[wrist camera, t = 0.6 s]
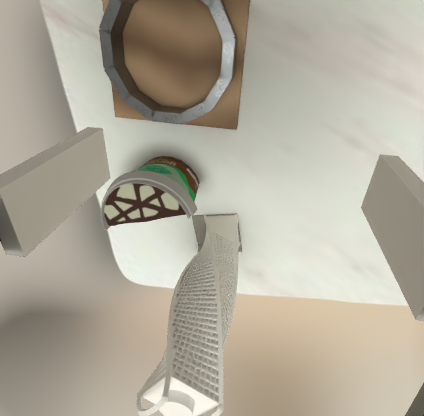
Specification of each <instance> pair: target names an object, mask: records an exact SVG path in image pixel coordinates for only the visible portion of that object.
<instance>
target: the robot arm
mask: <svg viewBox="0 0 424 416" xmlns="http://www.w3.org/2000/svg"><path fill="white" fill-rule="evenodd" d="M109 179H110V173H109V167H108V160H107V154H106V148H105V142H104V135H103V129H102V128H92V127H87V128H86V129H84V130H82V131H80V132H78V133H76V134H75V135H73V136H71V137H69V138H67V139H65V140H64V141H62V142H60V143H58V144H56V145H54V146H52V147H51V148H49V149H47V150H45V151H43V152H41V153H39V154H38V155H36V156H34V157H32V158H30V159H28V160H26V161H25V162H23V163H21V164H19V165H17V166H15V167H14V168H12V169H10V170H8V171H6V172H4V173H2V174H1V175H0V241H1V244H2V246H3V248H4V250H5V253H6V254H8V255H14V256H20V257H26V256H27V255H28V254H29V253H30V252H31V251H32V250H34V249H35V248H36V247H37V246H38V245H39V244H40V243H41V242H42V241H43V240H44V239H45V238H46V237H48V235H50V234H51V233H52V232H53V231H54V230H55V229H56V228H57V227H58V226H59V225H60V224H61V223H63V222H64V221H65V220H66V219H67V218H68V217H69V216H70V215H71V214H72V213H73V212H74V211H75V210H77V209H78V208H79V207H80V206H81V205H82V204H83V203H84V202H85V201H86V200H87V199H88V198H90V197H91V196H92V195H93V194H94V193H95V192H96V191H97V190H98V189H99V188H100V187H101V186H102V185H104V184H105V183H106V182H107V181H108V180H109ZM361 208H362V211H363V213H364V215H365V217H366V219H367V221H368V223H369V225H370V227H371V229H372V231H373V233H374V235H375V237H376V239H377V241H378V243H379V245H380V247H381V249H382V252H383V254H384V256H385V258H386V260H387V262H388V264H389V266H390V268H391V270H392V272H393V274H394V276H395V278H396V280H397V282H398V284H399V286H400V288H401V291H402V293H403V295H404V297H405V299H406V301H407V303H408V305H409V307H410V309H411V311H412V313H413V315H414V317H415V319H416V320H421V321H424V182H423V181H422V180H421V179H420V178H419V177H418V176H417V175H416V174H415V173H414V172H413V171H412V170H411V169H410V168H409V167H408V166H407V165H406V164H405V163H404V162H403V161H402V160H401V159H400V158H399V157H398V156H389V155H380V156H379V159H378V161H377V164H376V167H375V170H374V173H373V175H372V178H371V181H370V184H369V187H368V189H367V192H366V195H365V198H364V201H363V203H362V206H361ZM405 416H424V383H423V385H422V387H421V389H420V390H419V392H418V394H417V396H416V397H415V399H414V401H413V403H412V404H411V406H410V408H409V410H408V412H407V413H406V415H405Z"/></svg>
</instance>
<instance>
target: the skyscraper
mask: <svg viewBox="0 0 424 416" xmlns="http://www.w3.org/2000/svg"><path fill="white" fill-rule="evenodd" d="M192 219H193V224H194V228H195V233H196V237H197V242H198V246H199V249H198V253H197V254H196V255H195V256H194V258H193V259H192V260H191V261H190V262H189V264H188V265H187V266H186V268H185V269H184V271H183V272H182V274H181V276H180V278H179V280H178V282H177V285H176V287H175V290H174V293H173V297H172V301H171V306H170V313H169V322H168V335H167V347H166V351H165V354H164V356H163V359H162V361H161V362H160V363H159V365H158V366H157V368H156V369H155V371H154V372H153V373H152V375H151V376H150V378H149V379H148V380H147V382H146V383H145V385H144V386H143V387H142V389H141V390H140V392H139V393H138V396H137V409H138V414H139V415H140V416H148V415H150V414H152V413H154V412H155V411H157V410H160V412H161V413H162V414H163V415H165V416H202V415H204V414H206V413H207V412H209V411H211V410H213V409H215V408H217V407H218V410H217V411H216V412H215V413H214V414H212V415H211V416H219V415H220V414H221V413H222V412H223V407H224V401H223V399H224V398H223V348H224V345H225V342H226V339H227V336H228V332H229V328H230V324H231V320H232V316H233V311H234V305H235V297H236V290H237V279H238V252H242V247H241V240H240V232H239V225H238V215H237V214H216V215H195V216H192ZM142 397H143V398H145V399H147V400H149V401H151V402H153V403H154V404H156V405H154V406H153V407H151V408H149V409H143V408H142Z"/></svg>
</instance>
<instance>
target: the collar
mask: <svg viewBox="0 0 424 416" xmlns="http://www.w3.org/2000/svg"><path fill="white" fill-rule="evenodd" d="M138 1H139V0H109V2H108V5H107V8H106V10H105V13H104V16H103V19H102V22H101V24H100V27H99V28H100V29H99V32H100V41H101V49H102V57H103V66H104V68H106V69H104V70H105V72H106V73H107V75H108V77H109V78H110V80H111V82H112V83H113V85H114V87H115V89H116V90H117V92H118V94H119V95H120V97H121V99H122V100H123V101H124V103H126V104H127V105H129V106H130V107H132V108H133V109H135V110H136V111H138V112H139V113H140V114H142V115H143V116H145V117H146V118H148V119H149V120H152V121H155V122H165V123H174V124H185V123H187V122H189V121H191V120H193V119H195V118H197V117H199V116H201V115H203V114H205V113H207V112H209V111H211V110H212V109H213V108H214V107H215V106H216V104H217V103H218V101H219V100H220V98H221V97H222V95H223V94H224V92H225V90H226V89H227V87H228V86H229V84H230V83H231V81H232V80H233V78H234V76H235V66H236V54H237V43H238V38H236V37H238V36H237V34H236V31H235V29H234V26H233V24H232V21H231V19H230V16H229V14H228V11H227V9H226V6H225V4H224V1H223V0H201V1H203V2H204V3H205V4H206V5H208V6H209V9H210V11H211V13H212V16H213V18H214V20H215V23H216V25H217V28H218V30H219V32H220V35H221V37H222V40H223V47H222V62H221V76H220V77H219V79H218V80H217V82H216V84H215V85H214V87H213V89H212V90H211V92H210V93H209V95H208V97H207V98H206V99H204V100H202V101H200V102H198V103H196V104H194V105H192V106H190V107H188V108H179V107H169V106H161V105H160V104H158V103H157V102H156V101H154V100H153V99H151V98H150V97H149V96H147V95H146V94H144V93H143V92H141V91H140V90H139V88H138V86H137V85H136V83H135V81H134V79H133V78H132V76H131V74H130V72H129V70H128V69H127V67H126V65H125V57H124V46H123V34H122V33H123V30H124V28H125V25H126V23H127V20H128V18H129V15H130V13H131V10H132V8H133V5H134V4H135V3H136V2H138Z"/></svg>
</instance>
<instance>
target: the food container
mask: <svg viewBox="0 0 424 416" xmlns="http://www.w3.org/2000/svg"><path fill="white" fill-rule="evenodd" d="M198 186H199V181H198V178H197V176H196V174H195V173H194V172H193V171H192V169H191V168H190V167H189V166H188V165H186V164H185V163H184V162H182V161H181V160H178V159H175V158H173V157H166V156H162V157H156V158H153V159H152V160H150V161H148V162H147V163H146V164H144V165H143V166H142V167H141V168H139V169H138V170H137V171H132V172H129V173H126V174H123V175H122V176H120V177H118V178H117V179H116V180H114V181H113V183H112V184H111V185H110V187H109V188H108V190H107V192H106V194H105V196H104V198H103V201H102V207H101V220H102V224H103V227H104V229H105V231H106V230H107V229H108V228H109V227H110V226H115V225H118V224H124V223H134V222H147V221H152V220H156V219H161V218H165V217H171V216H178V215H185V214H186V215H187V217H188V219H189V218H190V216H192V215H193V214H194V213H195V211H196V210H197V207H196V205H195V203H194V201H195V197H196V193H197V190H198Z"/></svg>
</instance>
